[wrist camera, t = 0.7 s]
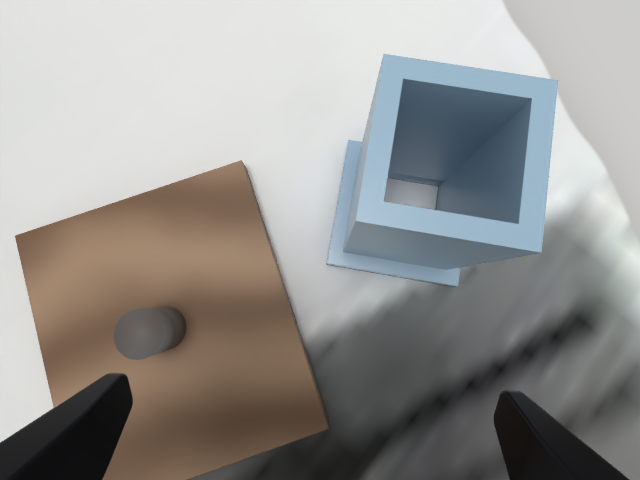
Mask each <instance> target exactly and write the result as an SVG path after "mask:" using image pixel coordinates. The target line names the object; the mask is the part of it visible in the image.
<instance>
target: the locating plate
mask: <svg viewBox="0 0 640 480" xmlns="http://www.w3.org/2000/svg"><path fill="white" fill-rule="evenodd" d="M15 238H16V242H17V247H18V251H19V255H20V260H21V264H22V269H23V273H24V278H25V282H26V286H27V291H28V295H29V300H30V304H31V309H32V313H33V318H34V322H35V326H36V331H37V335H38V340H39V344H40V349H41V353H42V357H43V362H44V366H45V371H46V375H47V380H48V384H49V388H50V393H51V397H52V402H53V406H54V408H55V407H56V406H58V405H59V404H61V403H62V402H64V401H65V400H67V399H68V398H70V397H72V396H73V395H75V394H76V393H78V392H79V391H81V390H82V389H84V388H85V387H87V386H88V385H90V384H92V383H93V382H95V381H96V380H98V379H99V378H101V377H102V376H104V375H106V374H108V373H123V374H126V375H127V377H128V380H129V384H130V388H131V392H132V396H133V405H132V409H131V411H130V414H129V416H128V419H127V421H126V424H125V426H124V429H123V431H122V434H121V436H120V439H119V441H118V444H117V446H116V449H115V451H114V454H113V456H112V459H111V461H110V464H109V466H108V468H107V471H106V473H105V475H104V477H103V479H102V480H187V479H190V478H193V477H196V476H198V475H201V474H204V473H207V472H210V471H212V470H215V469H218V468H221V467H224V466H226V465H229V464H232V463H235V462H238V461H240V460H243V459H246V458H249V457H252V456H254V455H257V454H260V453H263V452H266V451H268V450H271V449H274V448H277V447H280V446H282V445H285V444H288V443H291V442H294V441H296V440H299V439H302V438H305V437H307V436H310V435H313V434H316V433H319V432H321V431H324V430H327V429H329V421H328V417H327V414H326V411H325V408H324V405H323V402H322V399H321V396H320V393H319V390H318V387H317V384H316V381H315V378H314V375H313V372H312V368H311V365H310V362H309V359H308V356H307V353H306V350H305V347H304V344H303V341H302V338H301V335H300V332H299V329H298V326H297V322H296V319H295V316H294V313H293V310H292V307H291V304H290V301H289V298H288V295H287V292H286V289H285V286H284V283H283V280H282V276H281V273H280V270H279V267H278V264H277V261H276V258H275V255H274V252H273V249H272V246H271V243H270V240H269V237H268V234H267V231H266V227H265V224H264V221H263V218H262V215H261V212H260V209H259V206H258V203H257V200H256V197H255V194H254V191H253V188H252V185H251V181H250V178H249V175H248V172H247V169H246V167H245V165H244V164H243V162H242V160H241V161H238V162H235V163H232V164H229V165H226V166H223V167H220V168H217V169H214V170H211V171H208V172H205V173H202V174H199V175H196V176H193V177H190V178H187V179H184V180H181V181H178V182H175V183H172V184H169V185H166V186H163V187H160V188H157V189H154V190H151V191H148V192H145V193H142V194H139V195H136V196H133V197H130V198H127V199H124V200H121V201H118V202H115V203H112V204H109V205H106V206H103V207H100V208H97V209H94V210H91V211H88V212H85V213H82V214H79V215H76V216H73V217H70V218H67V219H64V220H61V221H58V222H55V223H52V224H49V225H46V226H43V227H40V228H37V229H34V230H31V231H28V232H25V233H22V234H19V235H16V236H15Z"/></svg>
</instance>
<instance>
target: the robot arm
mask: <svg viewBox="0 0 640 480" xmlns="http://www.w3.org/2000/svg"><path fill="white" fill-rule="evenodd" d="M132 405H133V396H132V392H131V388H130V384H129V380H128V377H127V375H126V374H123V373H108V374H106V375H104V376H102V377H101V378H99V379H98V380H96V381H95V382H93V383H92V384H90V385H88V386H87V387H85V388H84V389H82V390H81V391H79V392H78V393H76V394H75V395H73V396H72V397H70V398H68V399H67V400H65V401H64V402H62V403H61V404H59V405H58V406H56V407H55V408H53V409H52V410H50V411H48V412H47V413H45V414H44V415H42V416H41V417H39V418H38V419H36V420H35V421H33V422H32V423H30V424H28V425H27V426H25V427H24V428H22V429H21V430H19V431H18V432H16V433H15V434H13V435H12V436H10V437H8V438H7V439H5V440H4V441H2V442H1V443H0V480H102V479H103V477H104V475H105V473H106V471H107V468H108V466H109V464H110V461H111V459H112V456H113V454H114V451H115V449H116V446H117V444H118V441H119V439H120V436H121V434H122V431H123V429H124V426H125V424H126V421H127V419H128V416H129V414H130V411H131V409H132ZM494 425H495V429H496V432H497V436H498V439H499V443H500V446H501V450H502V453H503V457H504V460H505V464H506V467H507V471H508V475H509V478H510V480H629V479H628V478H627V477H626V476H625V475H623V474H622V473H621V472H620V471H618V470H617V469H616V468H615V467H613V466H612V465H611V464H610V463H609V462H607V461H606V460H605V459H604V458H602V457H601V456H600V455H599V454H597V453H596V452H595V451H594V450H593V449H591V448H590V447H589V446H588V445H586V444H585V443H584V442H583V441H581V440H580V439H579V438H578V437H577V436H575V435H574V434H573V433H572V432H570V431H569V430H568V429H567V428H566V427H564V426H563V425H562V424H561V423H559V422H558V421H557V420H556V419H554V418H553V417H552V416H551V415H550V414H548V413H547V412H546V411H545V410H543V409H542V408H541V407H540V406H538V405H537V404H536V403H535V402H534V401H532V400H531V399H530V398H529V397H527V396H526V395H525V394H524V393H522V392H520V391H507V390H505V391H502V392H501V394H500V396H499V400H498V403H497V406H496V410H495V413H494Z"/></svg>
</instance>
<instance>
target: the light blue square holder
mask: <svg viewBox="0 0 640 480" xmlns="http://www.w3.org/2000/svg"><path fill="white" fill-rule="evenodd" d="M557 85H558V80H552V79H546V78H539V77H533V76H526V75H519V74H513V73H506V72H500V71H493V70H486V69H480V68H473V67H467V66H460V65H453V64H447V63H440V62H434V61H427V60H420V59H414V58H407V57H401V56H394V55H387V54H383V59H382V63H381V67H380V71H379V75H378V79H377V84H376V88H375V92H374V96H373V100H372V104H371V108H370V113H369V117H368V121H367V125H366V129H365V133H364V138H363V142H358V141H352V140H348V146H347V151H346V157H345V163H344V169H343V174H342V180H341V186H340V191H339V197H338V203H337V208H336V214H335V220H334V226H333V231H332V237H331V243H330V248H329V254H328V260H327V264H328V265H333V266H339V267H345V268H350V269H356V270H362V271H367V272H373V273H379V274H384V275H390V276H396V277H401V278H407V279H413V280H418V281H424V282H430V283H435V284H441V285H447V286H458V283H459V275H460V267H465V266H470V265H476V264H482V263H487V262H493V261H498V260H504V259H509V258H515V257H520V256H526V255H531V254H537V253H541V250H542V240H543V230H544V219H545V209H546V199H547V188H548V178H549V168H550V157H551V147H552V137H553V126H554V116H555V106H556V95H557ZM387 178H392V179H399V180H405V181H411V182H417V183H423V184H429V185H435V186H439V187H438V195H437V202H436V209H435V210H432V209H426V208H420V207H414V206H408V205H402V204H396V203H390V202H384V196H385V190H386V184H387Z"/></svg>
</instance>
